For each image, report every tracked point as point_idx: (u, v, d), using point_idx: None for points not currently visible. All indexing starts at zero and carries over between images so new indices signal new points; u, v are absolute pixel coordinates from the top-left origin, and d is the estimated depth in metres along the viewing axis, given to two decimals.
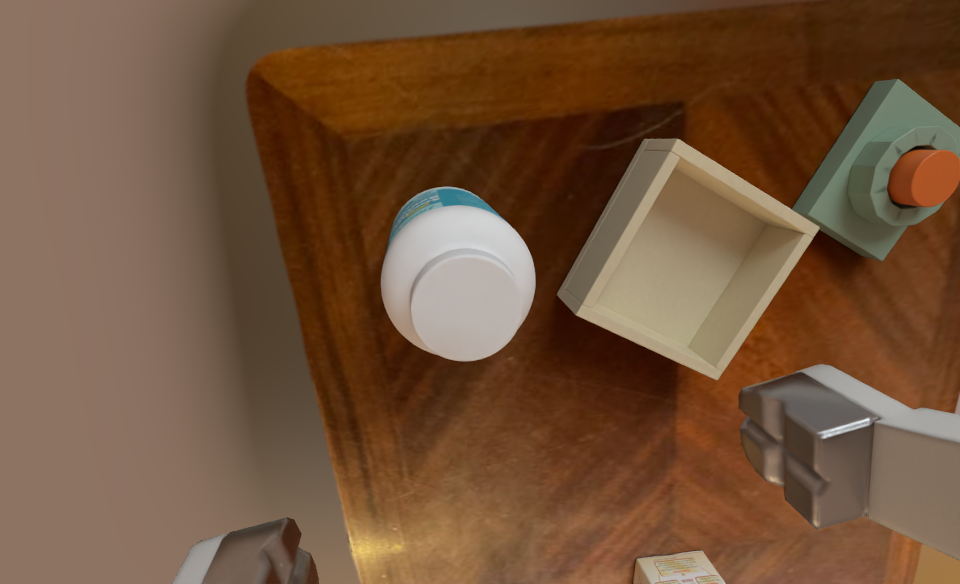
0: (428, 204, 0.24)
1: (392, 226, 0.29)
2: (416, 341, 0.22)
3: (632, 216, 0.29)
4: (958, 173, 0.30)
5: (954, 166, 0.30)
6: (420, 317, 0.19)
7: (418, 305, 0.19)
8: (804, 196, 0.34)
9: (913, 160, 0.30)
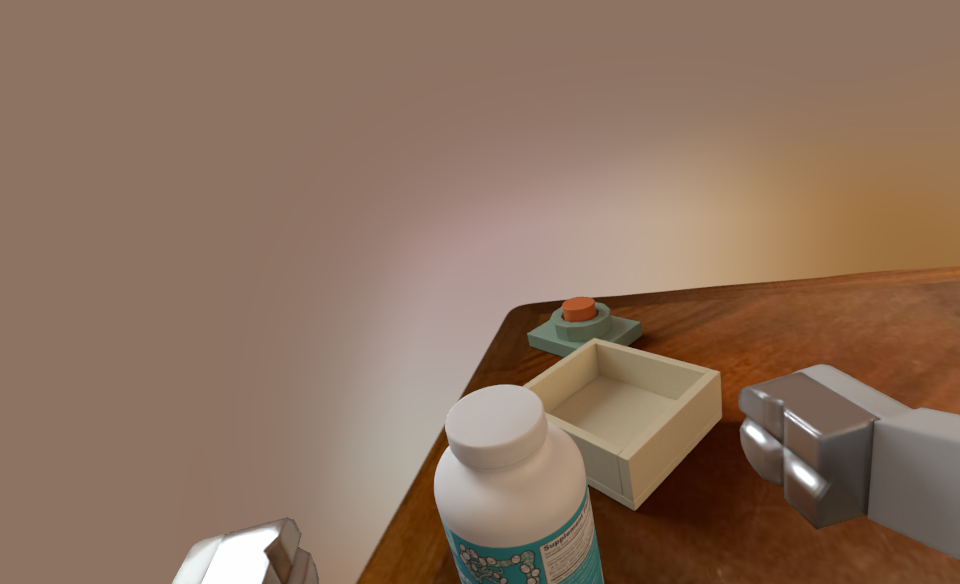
0: None
1: None
2: (538, 499, 0.20)
3: None
4: (577, 297, 0.54)
5: (573, 299, 0.54)
6: (481, 440, 0.20)
7: (469, 440, 0.20)
8: None
9: (566, 313, 0.52)
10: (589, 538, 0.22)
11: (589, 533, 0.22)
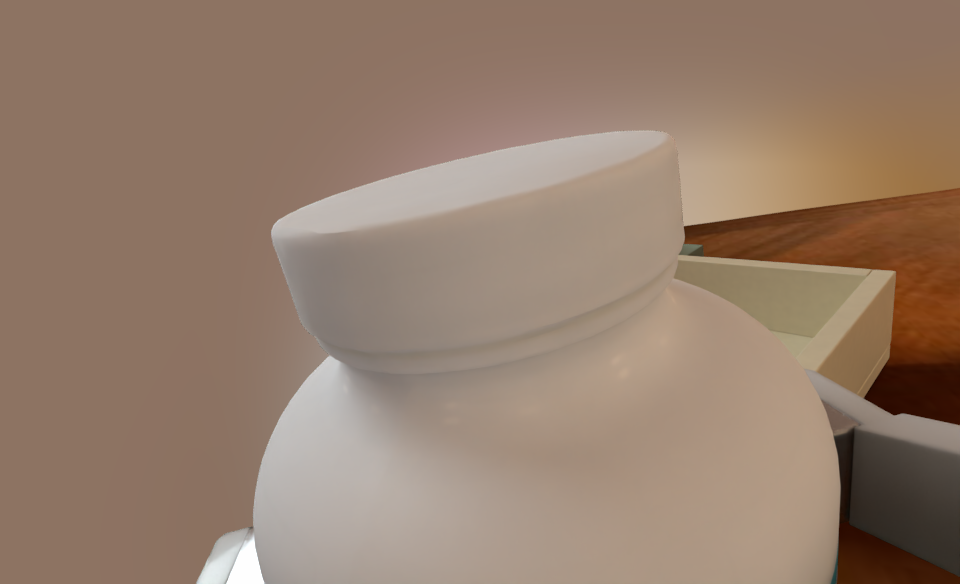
0: None
1: None
2: (699, 506, 0.04)
3: None
4: None
5: None
6: (394, 211, 0.04)
7: (340, 222, 0.04)
8: None
9: None
10: None
11: None
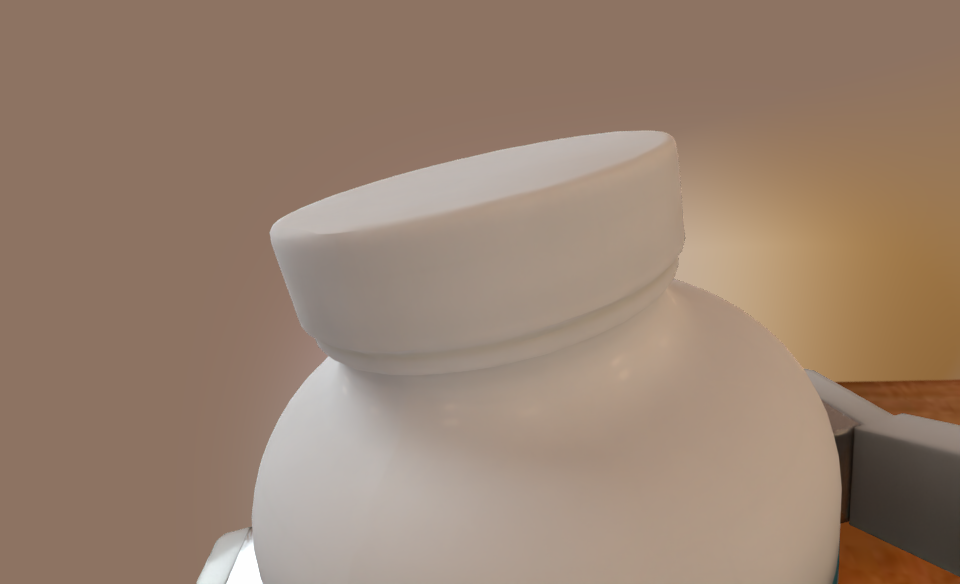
0: None
1: None
2: (700, 507, 0.04)
3: None
4: None
5: None
6: (393, 212, 0.04)
7: (338, 223, 0.04)
8: None
9: None
10: None
11: None
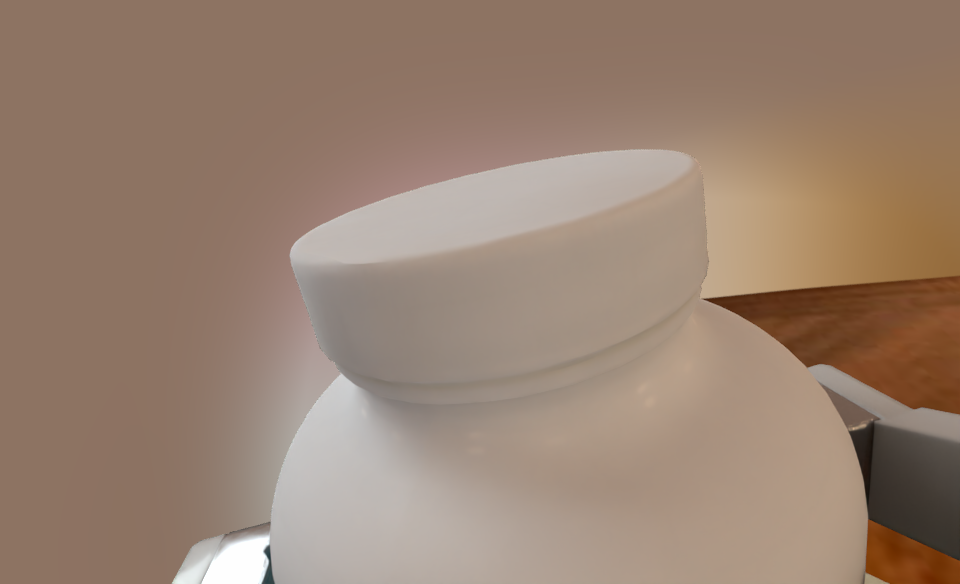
0: None
1: None
2: (732, 542, 0.04)
3: None
4: None
5: None
6: (420, 241, 0.04)
7: (364, 250, 0.04)
8: None
9: None
10: None
11: None
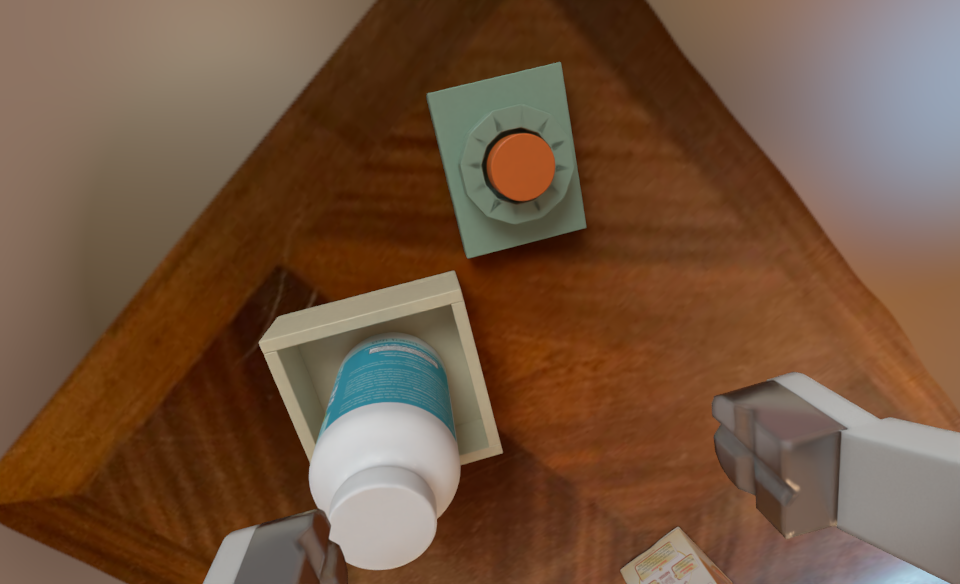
0: (325, 417, 0.25)
1: None
2: None
3: (289, 414, 0.29)
4: (540, 144, 0.25)
5: (529, 143, 0.25)
6: (353, 558, 0.20)
7: None
8: (461, 236, 0.31)
9: (489, 168, 0.26)
10: None
11: None
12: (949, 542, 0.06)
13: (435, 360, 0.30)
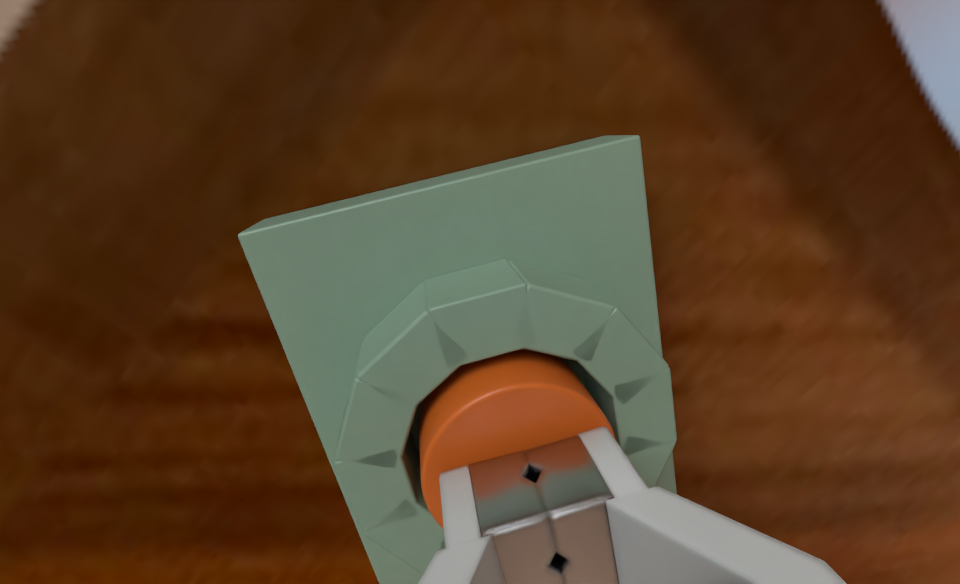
0: None
1: None
2: None
3: None
4: (576, 411, 0.08)
5: (540, 412, 0.08)
6: None
7: None
8: None
9: (420, 463, 0.09)
10: None
11: None
12: None
13: None
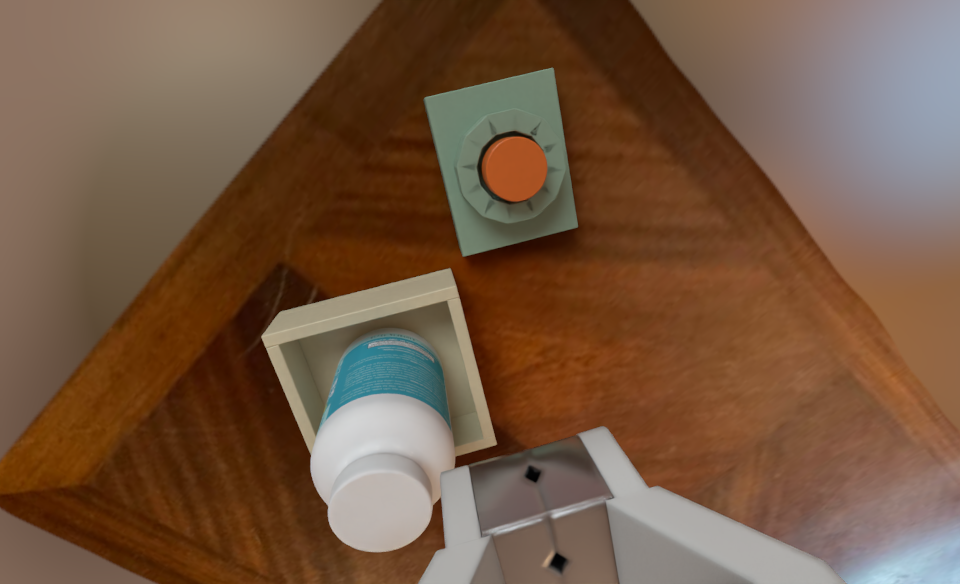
0: (325, 408, 0.26)
1: None
2: None
3: None
4: (533, 147, 0.26)
5: (522, 146, 0.26)
6: (353, 540, 0.21)
7: (343, 535, 0.21)
8: None
9: (484, 169, 0.27)
10: None
11: None
12: None
13: (431, 354, 0.31)
